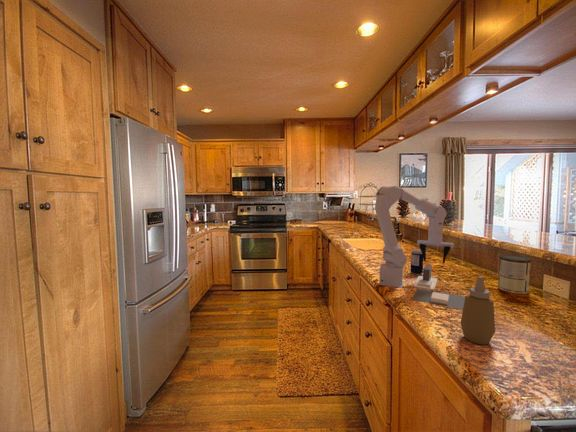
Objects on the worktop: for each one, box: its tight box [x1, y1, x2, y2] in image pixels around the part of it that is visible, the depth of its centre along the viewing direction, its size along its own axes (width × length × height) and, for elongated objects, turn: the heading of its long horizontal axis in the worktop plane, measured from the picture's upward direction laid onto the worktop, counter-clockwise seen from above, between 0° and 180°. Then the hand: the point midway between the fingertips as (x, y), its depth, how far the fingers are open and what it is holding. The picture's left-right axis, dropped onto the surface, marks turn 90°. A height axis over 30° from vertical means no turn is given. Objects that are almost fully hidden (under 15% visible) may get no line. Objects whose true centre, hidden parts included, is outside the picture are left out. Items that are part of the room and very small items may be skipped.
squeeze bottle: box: [460, 276, 496, 345], centre depth 77 cm, size 8×8×18 cm
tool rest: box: [412, 275, 439, 291], centre depth 124 cm, size 8×17×1 cm, turn 147°
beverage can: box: [410, 249, 424, 276], centre depth 140 cm, size 6×6×12 cm
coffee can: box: [497, 254, 532, 295], centre depth 117 cm, size 10×10×14 cm
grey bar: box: [418, 264, 433, 287], centre depth 124 cm, size 5×15×6 cm, turn 147°
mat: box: [411, 287, 465, 311], centre depth 106 cm, size 19×15×1 cm
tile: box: [431, 292, 449, 305], centre depth 104 cm, size 6×2×7 cm
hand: (434, 261), depth 126 cm, fingers open, 7 cm apart
